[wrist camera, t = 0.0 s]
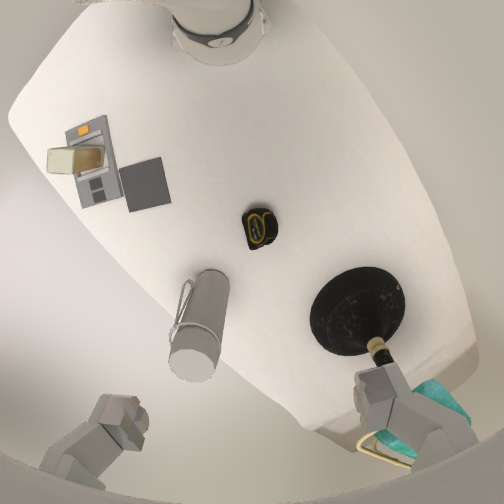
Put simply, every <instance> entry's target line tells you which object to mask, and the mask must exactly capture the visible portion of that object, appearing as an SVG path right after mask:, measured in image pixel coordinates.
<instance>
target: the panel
mask: <svg viewBox="0 0 504 504" xmlns="http://www.w3.org/2000/svg"><path fill="white" fill-rule="evenodd" d="M65 134H66V140H67V145H68V146H75V145H77V144H79V143H82V142H84V141H87V140H89V139H92V138H94V137H97V136H99V135H102V134H103V139H104V144H105V149H106V153H107V158H108V163H109V167H107V168H104V169H101V170H98V171H96V172H93V173H90V174H87V175H84V176H82V177H81V174H80V172H79V173H75V174H74V178H75V182H76V186H77V190H78V194H79V198H80V202H81V206H82V209H83V208H86V207H90V206H93V205H96V204H100V203H103V202H106V201H110V200H113V199H117V198H121V197H123V196H124V195H123V191H122V187H121V183H120V179H119V174H118V170H117V166H116V161H115V157H114V152H113V147H112V142H111V137H110V132H109V127H108V121H107V115H103V116H100V117H98V118H96V119H93V120H91V121H88V122H86V123H84V124H82V125H79V126H77V127H75V128H73V129H70V130H68V131H66V132H65Z"/></svg>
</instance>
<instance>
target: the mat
mask: <svg viewBox="0 0 504 504" xmlns="http://www.w3.org/2000/svg"><path fill="white" fill-rule="evenodd" d="M119 173H120V177H121V181H122V185H123V189H124V193H125V197H126V201H127V205H128V209H129V212H134V211H138V210H142V209H147V208H151V207H155V206H159V205H164V204H168V203H171V200H170V196H169V191H168V187H167V183H166V179H165V174H164V170H163V165H162V161H161V157H159V158H155V159H152V160H148V161H145V162H141V163H138V164H134V165H131V166H128V167H124V168H121V169H119Z"/></svg>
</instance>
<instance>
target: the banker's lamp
mask: <svg viewBox="0 0 504 504" xmlns="http://www.w3.org/2000/svg"><path fill="white" fill-rule="evenodd" d="M404 311H405V298H404V294H403V291H402V288H401V286H400V284H399V283H398V281H397V280H396V278H395V277H393V276H392V275H391V274H390V273H388V272H387V271H385V270H382V269H379V268H375V267H362V268H355V269H352V270H349V271H346V272H344V273H342V274H340V275H339V276H337V277H335V278H334V279H333V280H331V281H330V282H329V283H328V284H327V285H326V286H325V287H324V288H323V289H322V290H321V291H320V293H319V294H318V296H317V297H316V299H315V301H314V303H313V306H312V308H311V313H310V326H311V329H312V333H313V334H314V336H315V338H316V339H317V341H318V342H319V343H320V344H321V345H322V346H323V347H324V348H325V349H326V350H328V351H329V352H331V353H334V354H337V355H342V356H356V355H361V354H365V353H368V352H370V353H372V354H371V357H372V359H373V361H374V362H375V364H376V366H377V367H378V366H383V365H386V364H390V363H393V362H394V360H393V358H392V356H391V355H390V352H389V349H388V348H387V347H386V346H385V342H386V341H388V340H389V339H390V338H391V337H392V335H393V334H394V333H395V331H396V330H397V329H398V327H399V325H400V323H401V321H402V319H403V316H404ZM413 392H418V393H420V394H422V395H424V396H426V397H427V398H429V399H431V400H433V401H435V402H437V403H439V404H441V405H443V406H445V407H447V408H449V409H451V410H453V411H455V412H457V413H459V414H461V415H463V416H465V417H466V419H467V420H468V422H469V424H470V426H471V419H470V417H469V416H468V414H467V413H466V412H465V411H464V410H463V408H462V407H461V406H460V405H459V404H458V403H457V401H456V400H455V399H454V398H453V397H452V396H451V394H450V393H449V392H448V391H447V390H446V389H445V388H444V386H443V385H442V384H441V383H439V382H437V381H435V380H434V379H431V380H428V381H425V382H423V383H422V384H420V385H419V386H418V387H416V388H415V389H414V390H412V393H413ZM373 434H374V436H375V437H374V439H373V442H372V445H371V450H369V449H367V448H364V447H362V446H361V443H362V442H363V441H364V440H365V439H366V438H368V437H369V436H371V435H373ZM378 440H379V441H380V442H381V443H383V444H384V445H386V446H387V447H388V448H390V449H392V450H394V451H396V452H399V453H401V454H403V455H406V456H409V457H411V458H414V459H416V457H417V455H418V453H417V452H415V451H414V450H413V449H411V448H410V447H409V446H407V445H406V444H405V443H403V442H402V441H401V440H399V439H398V438H397V437H395V436H394V435H393V434H392V433H390V432H389V431H388V430H387V429H383V430H379V431H376V432H372V433H368V434H364V435H362V436H361V437H360V438H359V439H358V441H357V443H356V448H357V449H358V450H359V451H362V452H364V453H367V454H369V455H372V456H375V457H377V458H380V459H383V460H386V461H388V462H391V463H392V464H393V465H396V464H397V465H400V466H403V467H406V468H409V469H410V468H411V466H412V465H409V464H406V463H403V462H400V461H398V460H397V459H395V458H392V457H390V456H387V455H385V454H383V453H381V452H380V451H378V450H377V449H376V443H377V441H378Z"/></svg>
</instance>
